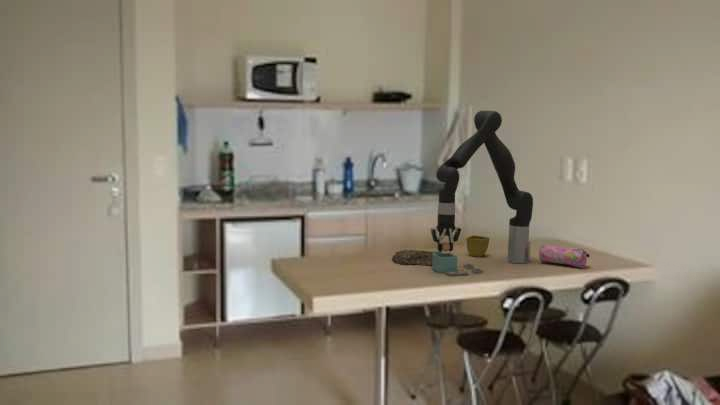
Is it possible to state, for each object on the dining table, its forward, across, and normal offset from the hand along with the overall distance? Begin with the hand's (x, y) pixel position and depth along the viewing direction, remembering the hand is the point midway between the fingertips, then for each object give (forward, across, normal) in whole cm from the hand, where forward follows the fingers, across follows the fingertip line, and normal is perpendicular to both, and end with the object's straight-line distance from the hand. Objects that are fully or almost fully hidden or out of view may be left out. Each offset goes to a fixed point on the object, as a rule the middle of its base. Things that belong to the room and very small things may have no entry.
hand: (445, 251), depth 319 cm
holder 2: (+9, -13, +6) cm, 17 cm away
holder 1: (+9, -13, -3) cm, 16 cm away
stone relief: (+9, +1, -22) cm, 24 cm away
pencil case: (+9, -59, +1) cm, 59 cm away
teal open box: (+9, 0, 0) cm, 9 cm away
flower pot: (+9, -28, -26) cm, 39 cm away
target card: (+9, -2, +8) cm, 12 cm away
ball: (-2, 0, 0) cm, 2 cm away
